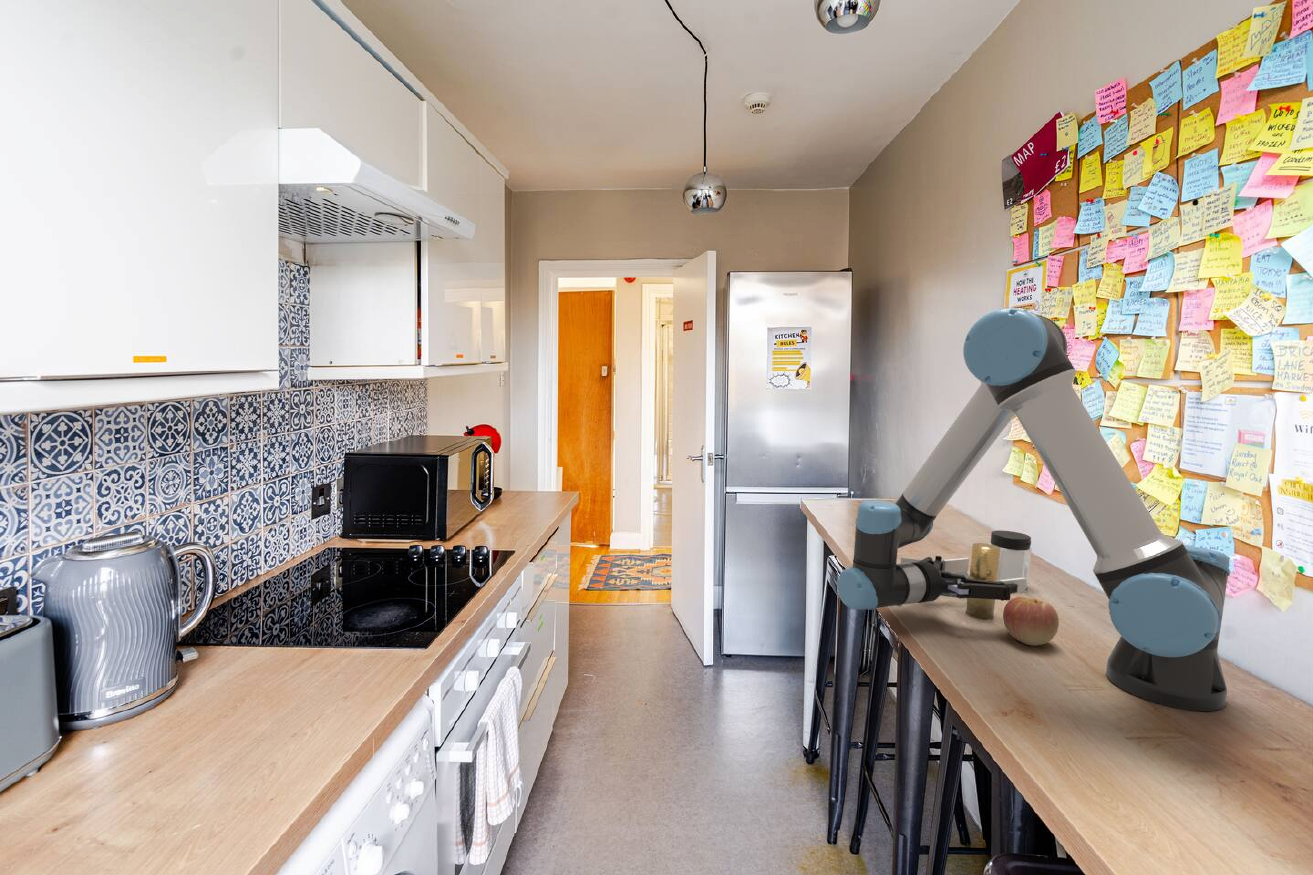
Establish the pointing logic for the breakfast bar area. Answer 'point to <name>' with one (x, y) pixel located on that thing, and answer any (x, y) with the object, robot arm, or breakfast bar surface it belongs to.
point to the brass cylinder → (983, 578)
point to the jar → (1012, 554)
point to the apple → (1030, 620)
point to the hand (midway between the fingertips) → (994, 574)
